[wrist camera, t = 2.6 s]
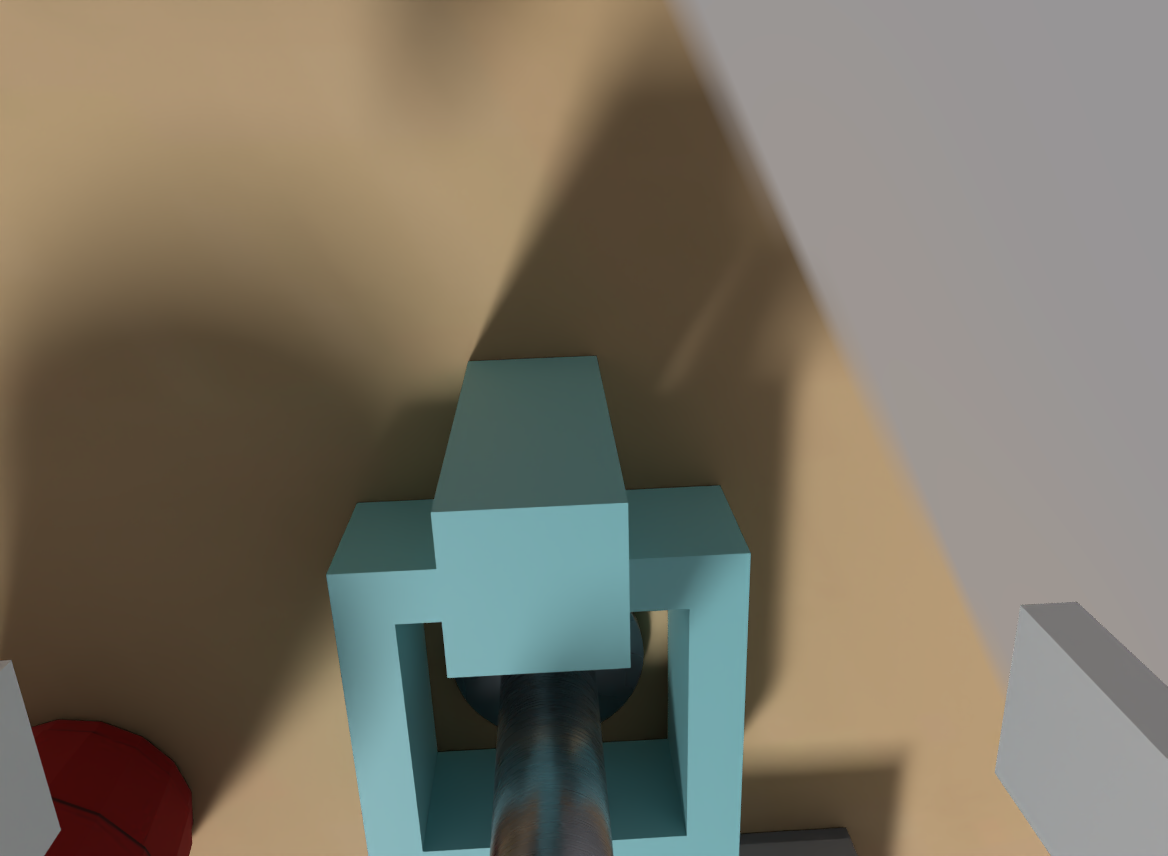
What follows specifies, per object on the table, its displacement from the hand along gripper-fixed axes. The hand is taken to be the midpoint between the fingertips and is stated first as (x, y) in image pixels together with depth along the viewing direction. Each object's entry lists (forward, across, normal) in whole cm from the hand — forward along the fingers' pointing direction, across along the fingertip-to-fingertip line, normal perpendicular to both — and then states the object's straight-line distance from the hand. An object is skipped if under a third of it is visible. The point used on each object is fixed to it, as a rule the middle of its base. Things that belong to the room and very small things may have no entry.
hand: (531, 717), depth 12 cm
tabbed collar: (+11, 0, -4) cm, 11 cm away
